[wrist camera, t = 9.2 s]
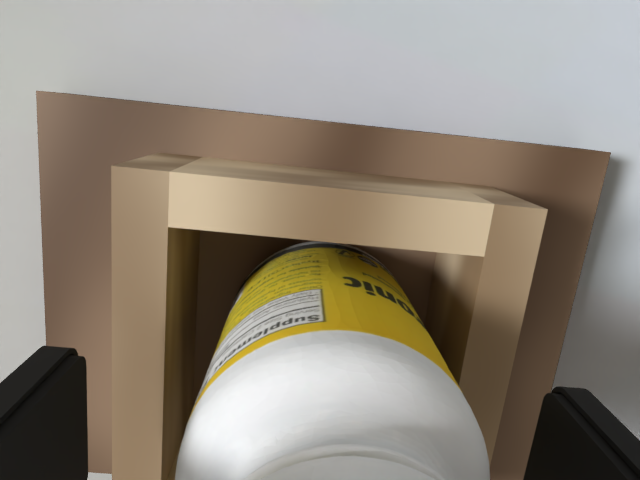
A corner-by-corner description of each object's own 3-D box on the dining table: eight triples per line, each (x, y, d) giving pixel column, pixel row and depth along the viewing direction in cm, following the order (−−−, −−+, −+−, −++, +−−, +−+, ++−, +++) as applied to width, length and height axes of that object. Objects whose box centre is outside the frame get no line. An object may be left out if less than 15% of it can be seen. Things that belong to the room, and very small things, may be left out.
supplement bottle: (437, 348, 15) (653, 733, 6) (289, 425, 16) (265, 891, 6) (355, 201, 14) (461, 388, 5) (197, 290, 15) (-2, 622, 5)
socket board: (581, 148, 15) (709, 165, 11) (505, 470, 18) (578, 598, 14) (63, 92, 14) (-59, 83, 10) (72, 439, 17) (-17, 565, 13)
